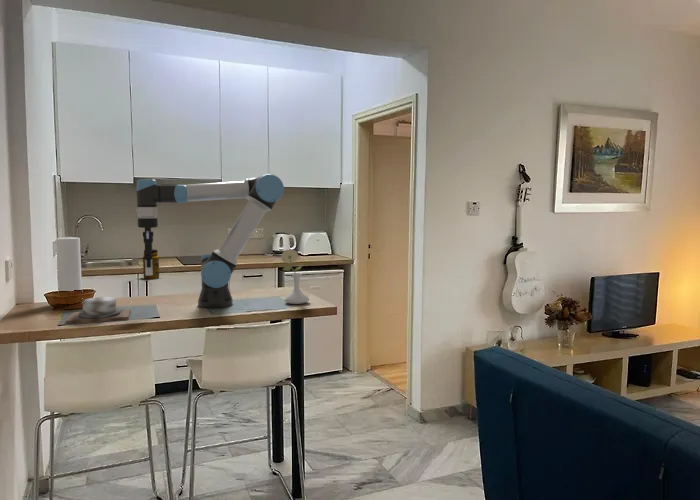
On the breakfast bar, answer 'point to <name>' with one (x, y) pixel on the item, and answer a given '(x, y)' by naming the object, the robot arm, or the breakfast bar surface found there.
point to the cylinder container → (69, 264)
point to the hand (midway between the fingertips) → (149, 274)
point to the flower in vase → (296, 294)
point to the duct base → (80, 320)
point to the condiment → (155, 267)
